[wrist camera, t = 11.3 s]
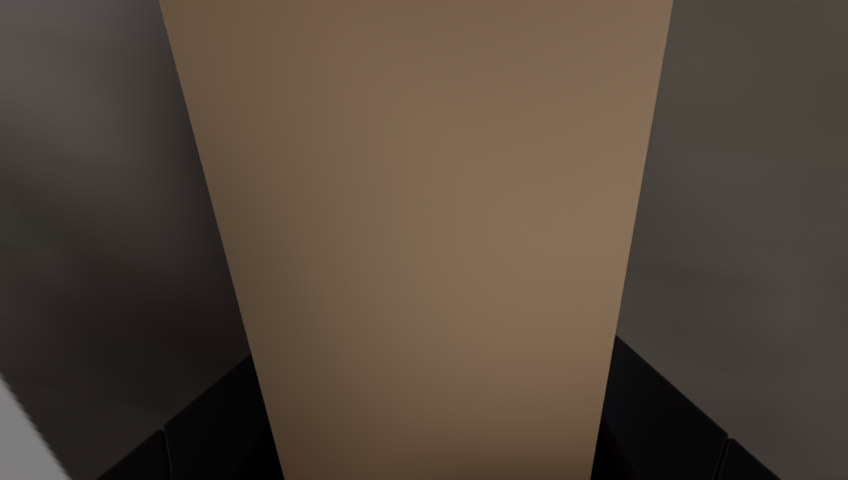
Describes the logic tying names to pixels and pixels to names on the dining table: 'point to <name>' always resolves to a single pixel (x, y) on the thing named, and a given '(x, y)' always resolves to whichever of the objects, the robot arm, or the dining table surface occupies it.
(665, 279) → the dining table surface
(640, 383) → the robot arm
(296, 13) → the tan wooden block
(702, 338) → the dining table surface
